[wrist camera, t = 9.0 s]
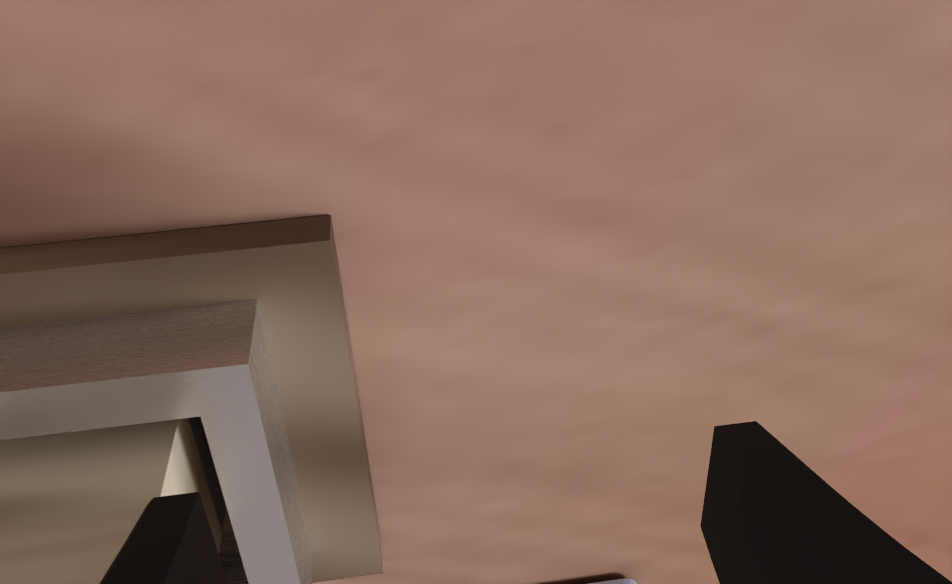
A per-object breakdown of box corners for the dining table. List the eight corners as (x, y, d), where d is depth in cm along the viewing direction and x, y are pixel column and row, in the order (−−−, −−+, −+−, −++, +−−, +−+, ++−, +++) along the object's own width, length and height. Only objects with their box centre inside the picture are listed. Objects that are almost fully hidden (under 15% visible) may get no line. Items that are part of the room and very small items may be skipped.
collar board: (380, 540, 26) (386, 646, 23) (-38, 596, 25) (-89, 714, 22) (330, 214, 20) (328, 300, 17) (-224, 270, 19) (-330, 372, 16)
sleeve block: (225, 509, 23) (194, 727, 18) (52, 531, 22) (-30, 760, 17) (188, 378, 20) (139, 588, 15) (-7, 400, 20) (-122, 623, 15)
